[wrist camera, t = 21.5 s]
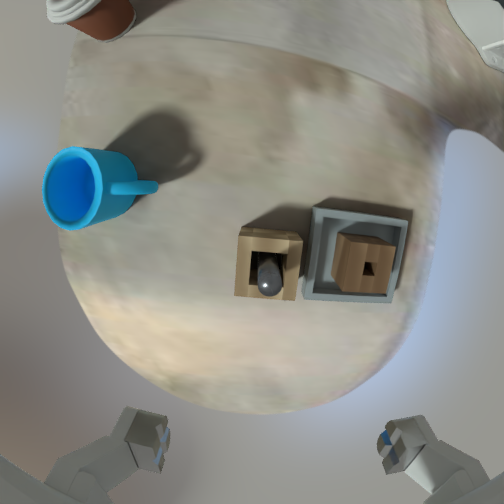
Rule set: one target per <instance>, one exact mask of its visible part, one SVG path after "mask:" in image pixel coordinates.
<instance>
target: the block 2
mask: <svg viewBox="0 0 504 504" xmlns="http://www.w3.org/2000/svg"><path fill="white" fill-rule="evenodd" d="M395 249H396V247H395V246H394V245H392V244H390V243H388V242H386V241H384V240H383V239H381V238H379V237H377V236H368V235H360V234H351V233H342V232H337V237H336V244H335V251H334V257H333V263H332V269H331V276H332V278H333V279H334V280H335V282H336V283H337V285H338V286H339V287H340V289H341V290H342V291H345V292H363V293H384V294H386V291H387V287H388V283H389V278H390V274H391V269H392V264H393V260H394V254H395Z"/></svg>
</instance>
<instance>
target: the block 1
mask: <svg viewBox="0 0 504 504" xmlns="http://www.w3.org/2000/svg"><path fill="white" fill-rule="evenodd" d="M302 247H303V241H302V239H301V238H300V236H299V235H298V233H297V232H294V231H284V230H273V229H262V228H250V227H242V228H241V230H240V233H239V237H238V250H237V264H236V278H235V293H234V296H242V297H253V298H265V299H278V300H292V301H295V297H296V290H297V283H298V277H299V269H300V262H301V255H302ZM252 251H261V252H273V253H282V258H281V267H280V276H281V280H282V289H281V291H280V292H279V293H278V294H277V295H275V296H272V297H268V296H265V295H263V294H261V293H260V291H259V289H258V269H250V264H251V253H252Z"/></svg>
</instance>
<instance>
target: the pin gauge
mask: <svg viewBox="0 0 504 504" xmlns="http://www.w3.org/2000/svg"><path fill="white" fill-rule="evenodd" d="M258 289H259V291H260V293H261V294H263V295H265V296H268V297H272V296H275V295H277V294H278V293H279V292H280V291H281V289H282V280H281V276H280V271H279V267H278V262H277V258H276V253H273V252H261V251H259V253H258Z"/></svg>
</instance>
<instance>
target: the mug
mask: <svg viewBox="0 0 504 504" xmlns="http://www.w3.org/2000/svg"><path fill="white" fill-rule="evenodd" d="M157 190H158V183H157V182H156V181H149V180H138V178H137V172H136V170H135V167H134V165H133V163H132V162H131V161H130V160H129V158H128V157H127V156H125V155H123V154H122V153H120V152H114V151H106V150H99V149H91V148H82V147H73V146H72V147H69V148H66V149H63V150H61V151H60V152H59V153H58V154H56V155H55V156H54V158H53V159H52V160H51V162H50V163H49V165H48V166H47V169H46V172H45V175H44V178H43V186H42V194H43V202H44V205H45V208H46V211H47V213H48V215H49V216H50V218H51V219H52V221H53V222H54V223H56V224H57V225H58V226H59V227H60V228H63V229H66V230H78V229H82V228H85V227H87V226H90V225H93V224H96V223H99V222H102V221H105V220H109V219H112V218H115V217H117V216H119V215H121V214H123V213H125V212H126V211H127V210H128V208H129V207H130V206H131V205H132V203H133V201H134V199H135V197H136V195H137V194H152V193H155V192H157Z"/></svg>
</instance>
